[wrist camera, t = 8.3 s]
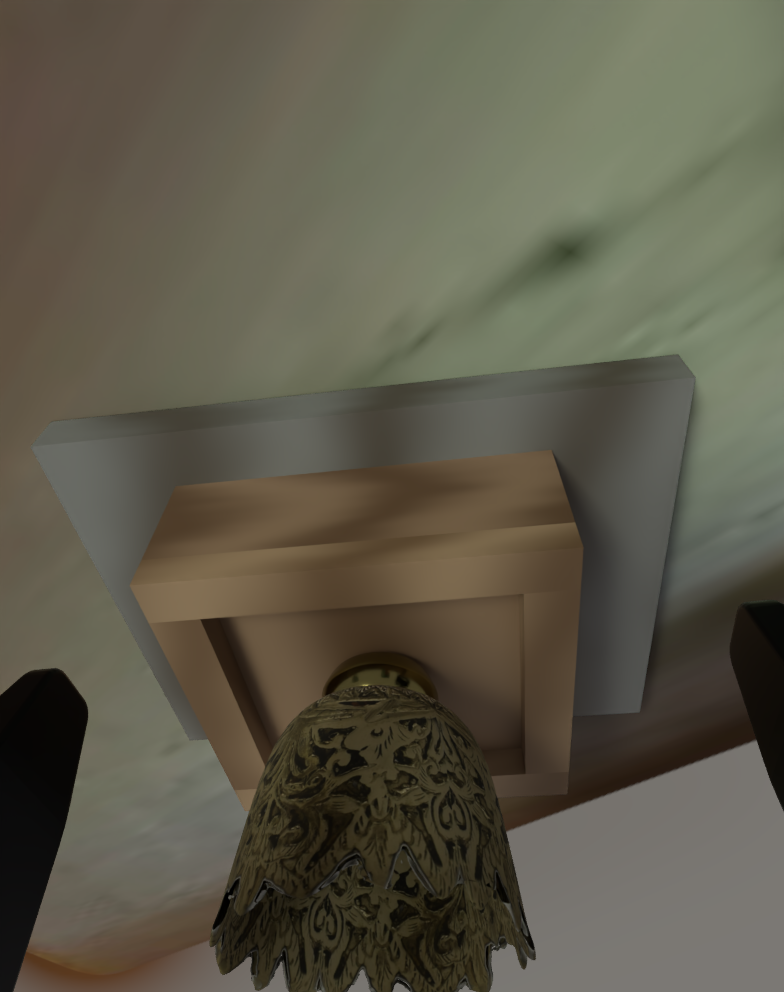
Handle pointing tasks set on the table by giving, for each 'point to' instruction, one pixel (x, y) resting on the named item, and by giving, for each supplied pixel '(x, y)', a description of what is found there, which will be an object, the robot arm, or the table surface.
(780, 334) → the table surface
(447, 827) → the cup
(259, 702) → the wooden square tray
